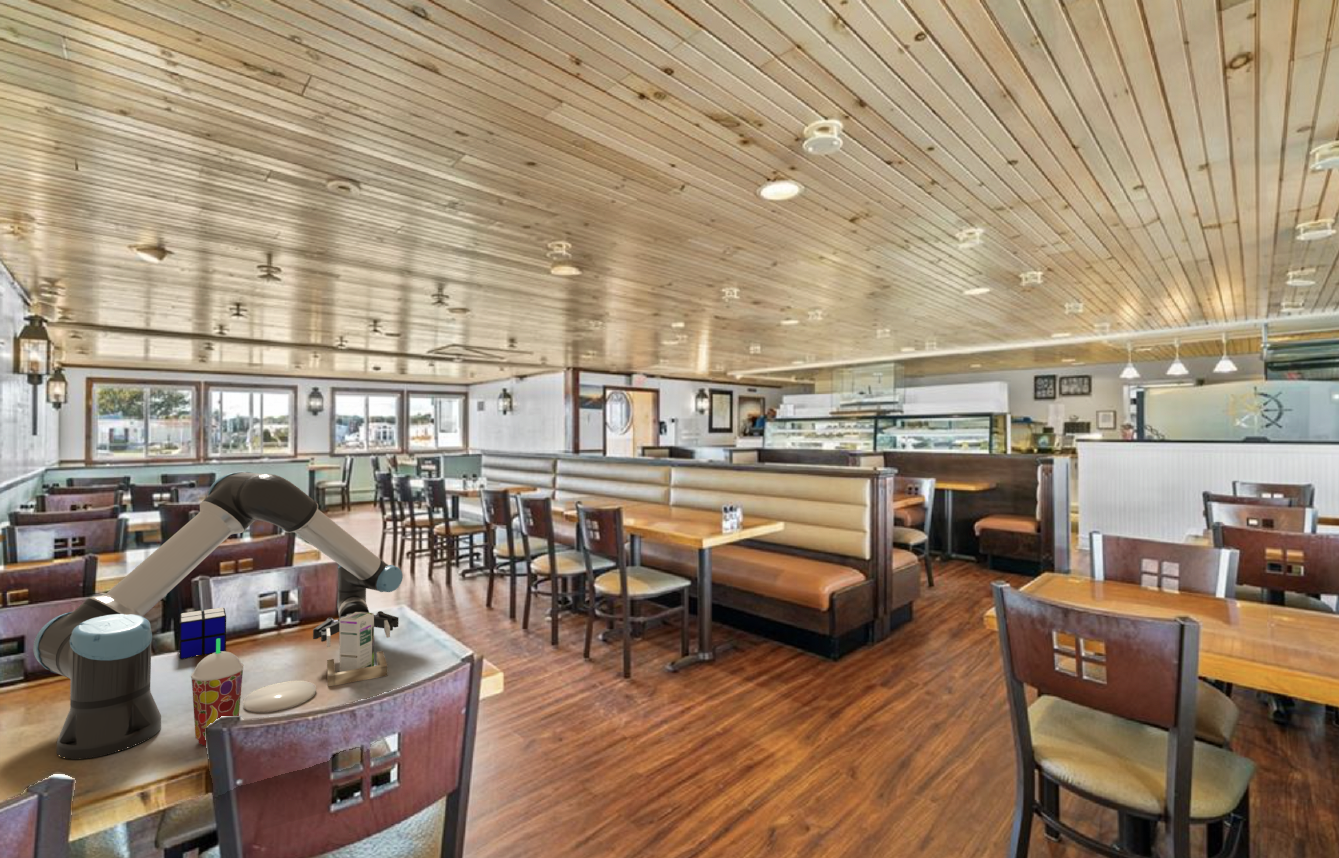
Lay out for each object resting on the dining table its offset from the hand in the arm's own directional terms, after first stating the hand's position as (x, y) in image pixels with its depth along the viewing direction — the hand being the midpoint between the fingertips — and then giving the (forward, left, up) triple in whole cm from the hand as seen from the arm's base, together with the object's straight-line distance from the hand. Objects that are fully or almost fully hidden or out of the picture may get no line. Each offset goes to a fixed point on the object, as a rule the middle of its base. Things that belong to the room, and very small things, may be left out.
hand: (359, 636), depth 152 cm
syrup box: (-1, 0, -9) cm, 9 cm away
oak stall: (-1, 0, -9) cm, 9 cm away
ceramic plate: (-17, -8, -9) cm, 20 cm away
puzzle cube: (-37, +37, -9) cm, 53 cm away
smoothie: (-27, -23, -9) cm, 36 cm away
